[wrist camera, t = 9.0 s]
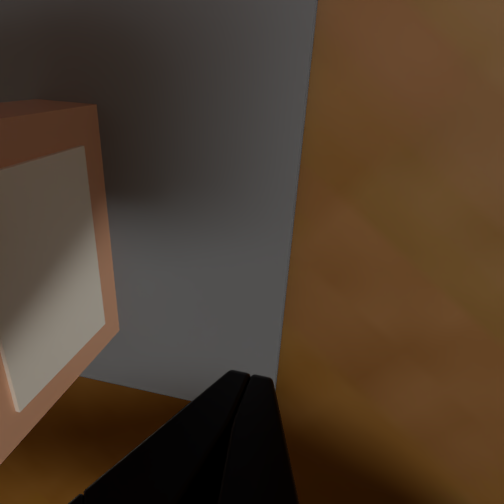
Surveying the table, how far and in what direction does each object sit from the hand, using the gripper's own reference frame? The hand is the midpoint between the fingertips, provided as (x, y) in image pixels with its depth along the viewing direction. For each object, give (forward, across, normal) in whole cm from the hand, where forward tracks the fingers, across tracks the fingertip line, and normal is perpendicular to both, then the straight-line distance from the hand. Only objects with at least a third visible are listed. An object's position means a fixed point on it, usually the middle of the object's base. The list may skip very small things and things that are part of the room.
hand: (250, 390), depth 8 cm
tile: (+5, +7, 0) cm, 9 cm away
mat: (+6, +8, -1) cm, 10 cm away
